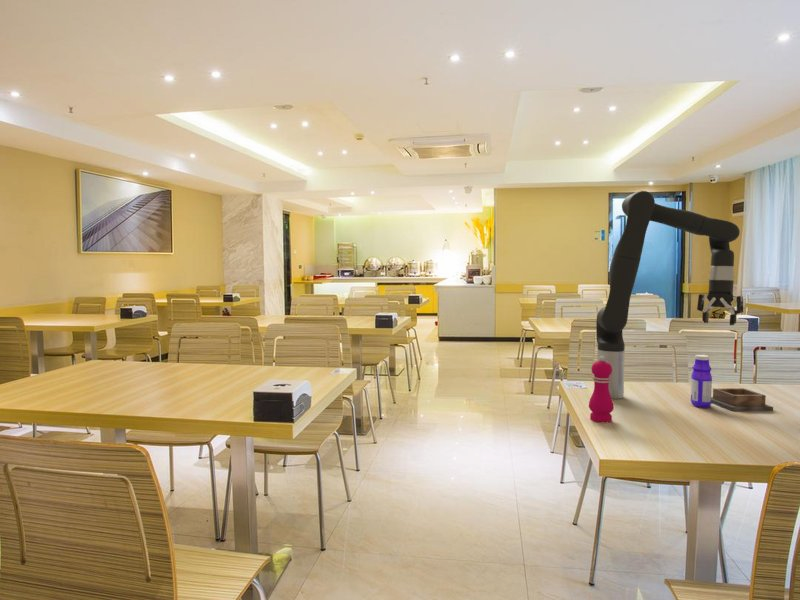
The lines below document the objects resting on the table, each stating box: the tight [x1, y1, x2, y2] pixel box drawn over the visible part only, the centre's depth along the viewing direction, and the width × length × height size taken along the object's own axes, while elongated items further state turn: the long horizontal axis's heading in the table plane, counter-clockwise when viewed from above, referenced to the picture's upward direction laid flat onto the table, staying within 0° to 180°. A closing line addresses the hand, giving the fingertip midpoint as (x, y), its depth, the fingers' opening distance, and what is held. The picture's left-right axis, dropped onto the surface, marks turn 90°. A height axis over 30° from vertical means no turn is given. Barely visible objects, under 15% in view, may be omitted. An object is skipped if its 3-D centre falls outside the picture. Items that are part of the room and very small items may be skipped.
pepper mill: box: [588, 356, 615, 424], centre depth 163 cm, size 7×7×20 cm
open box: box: [711, 387, 774, 412], centre depth 181 cm, size 14×14×5 cm
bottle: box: [690, 354, 713, 409], centre depth 180 cm, size 7×6×17 cm
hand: (718, 324), depth 190 cm, fingers open, 8 cm apart
